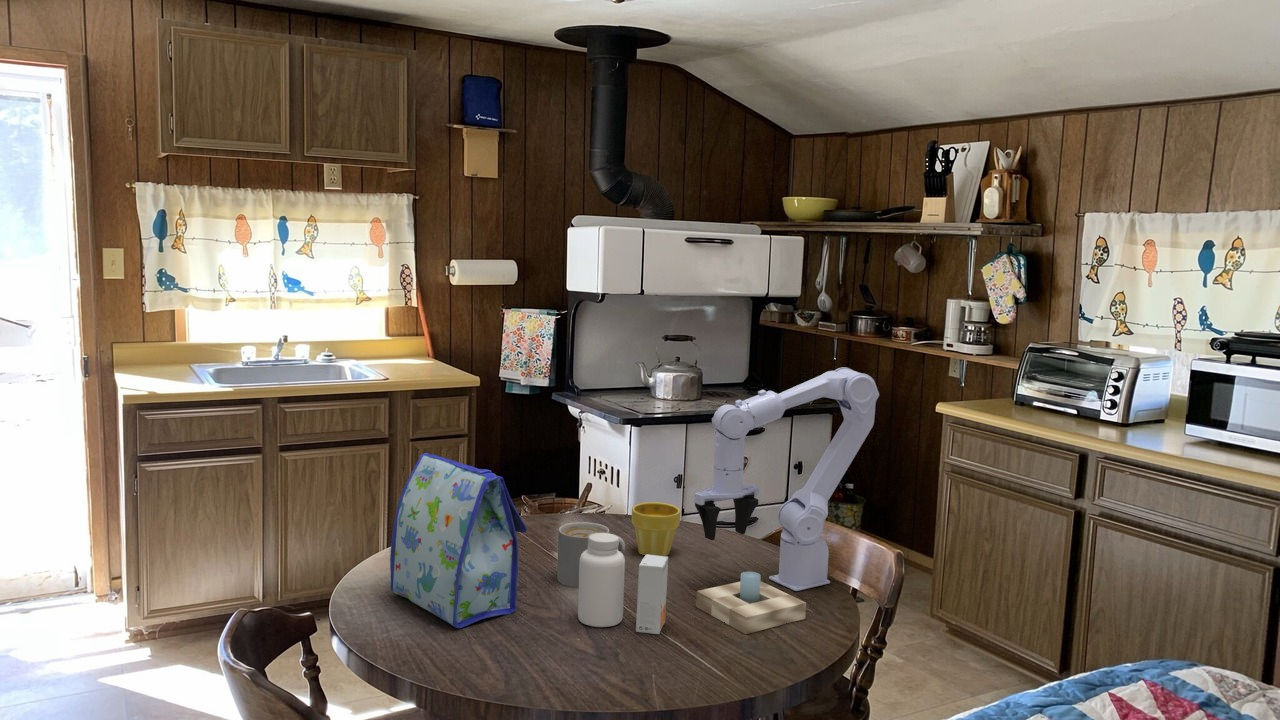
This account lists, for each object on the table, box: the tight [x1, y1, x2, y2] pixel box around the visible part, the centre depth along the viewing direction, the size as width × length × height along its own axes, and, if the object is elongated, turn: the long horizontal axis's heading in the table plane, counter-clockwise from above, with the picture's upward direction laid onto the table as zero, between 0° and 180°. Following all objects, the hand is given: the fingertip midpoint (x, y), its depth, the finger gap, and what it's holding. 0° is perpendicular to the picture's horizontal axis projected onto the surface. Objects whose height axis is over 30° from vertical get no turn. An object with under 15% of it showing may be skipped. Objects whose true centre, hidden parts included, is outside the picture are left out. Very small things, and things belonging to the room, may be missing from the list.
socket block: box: [695, 580, 807, 635], centre depth 174 cm, size 14×14×3 cm
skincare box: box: [635, 554, 669, 635], centre depth 165 cm, size 6×4×12 cm
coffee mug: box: [556, 521, 626, 589], centre depth 187 cm, size 13×10×10 cm
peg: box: [739, 571, 762, 604], centre depth 174 cm, size 4×4×7 cm
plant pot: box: [631, 501, 681, 557], centre depth 204 cm, size 10×10×10 cm
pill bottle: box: [577, 532, 626, 628], centre depth 167 cm, size 8×8×15 cm
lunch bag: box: [389, 452, 528, 629], centre depth 171 cm, size 22×17×26 cm
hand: (725, 535), depth 186 cm, fingers open, 7 cm apart
